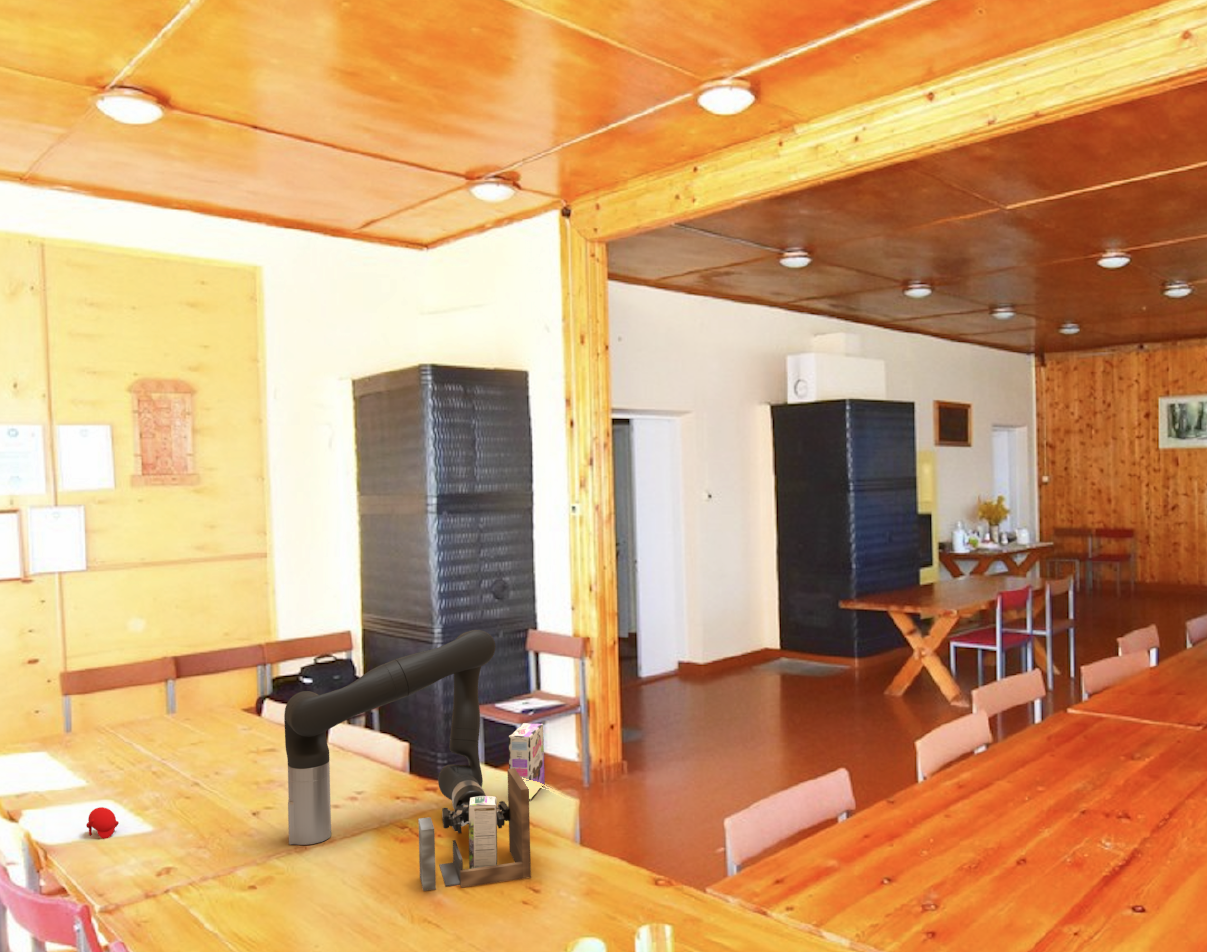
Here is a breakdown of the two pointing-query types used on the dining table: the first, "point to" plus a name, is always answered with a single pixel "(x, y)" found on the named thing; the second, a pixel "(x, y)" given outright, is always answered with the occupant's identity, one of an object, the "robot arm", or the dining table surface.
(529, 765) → the candy box
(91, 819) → the cap
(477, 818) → the syrup box
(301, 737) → the robot arm
